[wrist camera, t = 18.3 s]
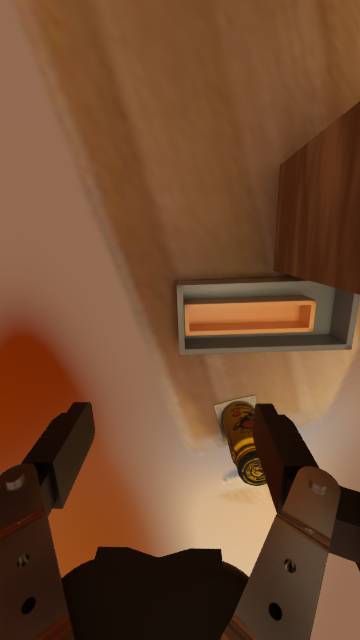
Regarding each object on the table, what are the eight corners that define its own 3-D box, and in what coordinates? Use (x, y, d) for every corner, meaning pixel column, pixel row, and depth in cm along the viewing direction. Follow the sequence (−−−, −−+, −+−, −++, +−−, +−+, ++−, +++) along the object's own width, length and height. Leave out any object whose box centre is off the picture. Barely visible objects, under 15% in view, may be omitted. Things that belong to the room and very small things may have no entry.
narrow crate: (185, 327, 41) (185, 335, 37) (184, 298, 39) (184, 304, 35) (300, 323, 40) (312, 331, 36) (303, 294, 39) (316, 300, 35)
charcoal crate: (179, 342, 42) (179, 354, 37) (177, 280, 39) (176, 285, 34) (331, 337, 42) (351, 349, 37) (340, 274, 39) (362, 278, 34)
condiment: (254, 394, 45) (279, 446, 33) (263, 433, 47) (290, 495, 35) (213, 404, 45) (224, 459, 34) (224, 442, 48) (238, 506, 36)
